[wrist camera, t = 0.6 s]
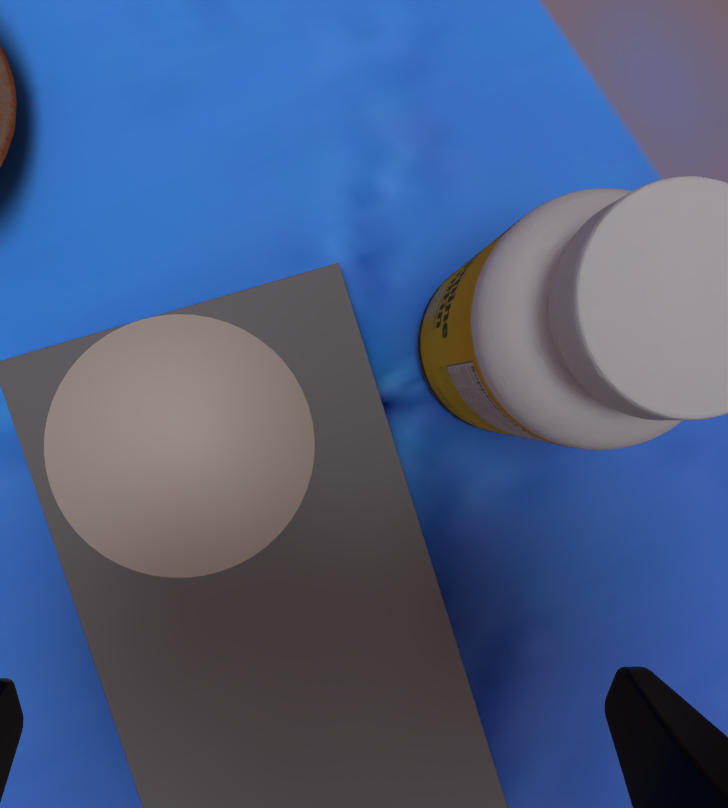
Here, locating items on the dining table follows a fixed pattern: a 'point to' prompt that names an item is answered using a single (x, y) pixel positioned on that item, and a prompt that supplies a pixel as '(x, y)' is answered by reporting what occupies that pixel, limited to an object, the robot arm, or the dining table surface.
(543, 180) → the dining table surface
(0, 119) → the fruit slice
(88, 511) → the panel board
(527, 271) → the pill bottle
